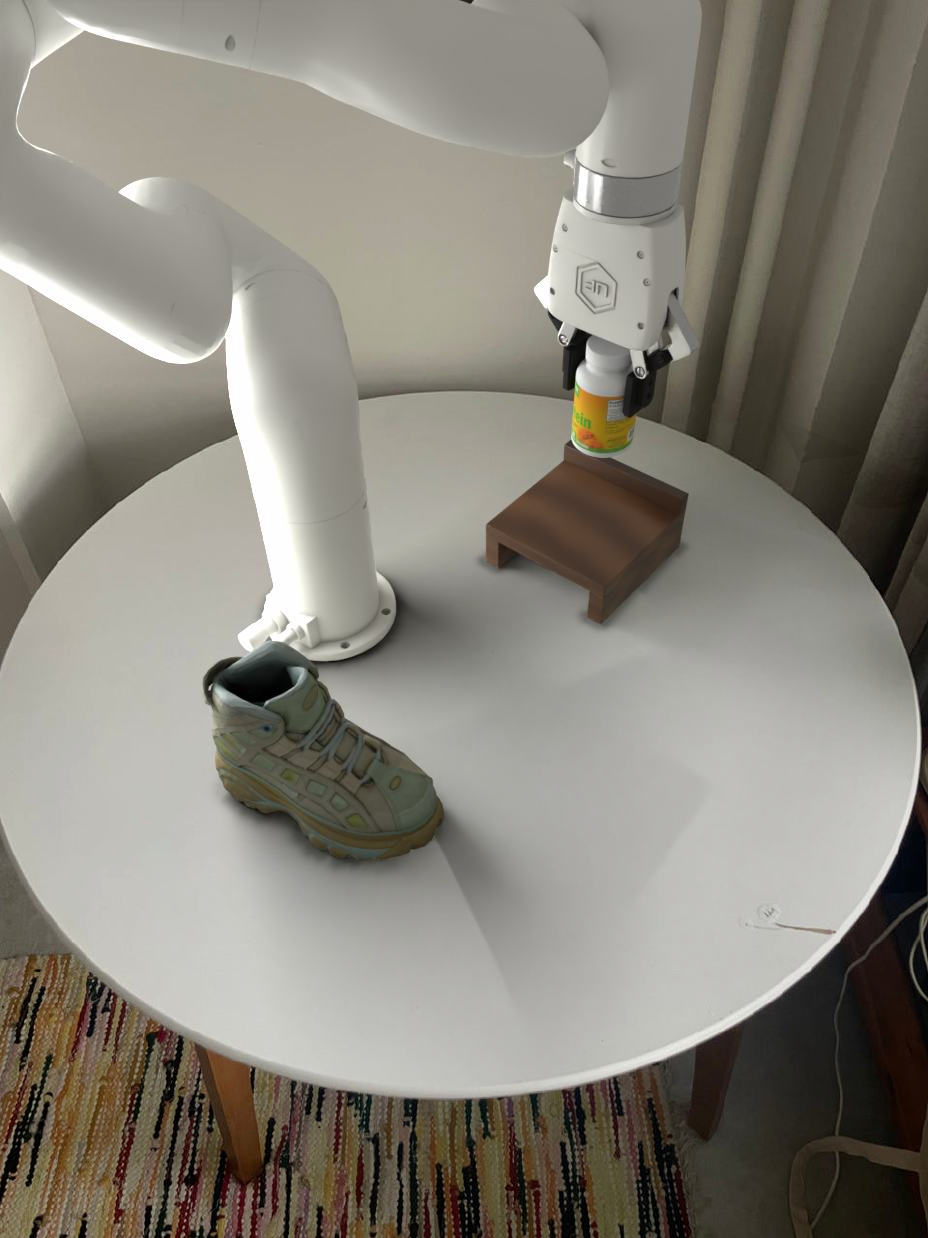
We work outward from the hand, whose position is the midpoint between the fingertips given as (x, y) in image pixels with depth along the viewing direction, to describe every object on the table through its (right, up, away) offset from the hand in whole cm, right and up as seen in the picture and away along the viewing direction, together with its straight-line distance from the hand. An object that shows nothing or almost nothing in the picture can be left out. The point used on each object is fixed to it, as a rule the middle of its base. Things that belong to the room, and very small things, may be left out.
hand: (605, 394), depth 87 cm
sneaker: (-23, -34, -2) cm, 41 cm away
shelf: (0, -12, +17) cm, 21 cm away
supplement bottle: (0, -3, +4) cm, 5 cm away
